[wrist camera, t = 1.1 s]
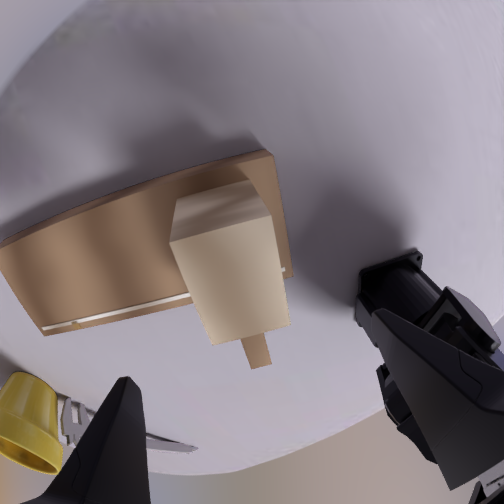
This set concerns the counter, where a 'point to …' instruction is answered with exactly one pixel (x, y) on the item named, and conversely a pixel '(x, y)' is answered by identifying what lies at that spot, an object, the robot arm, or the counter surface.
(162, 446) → the caliper
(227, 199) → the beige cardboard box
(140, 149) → the counter surface
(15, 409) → the plant pot
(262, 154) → the walnut board
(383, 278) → the robot arm
